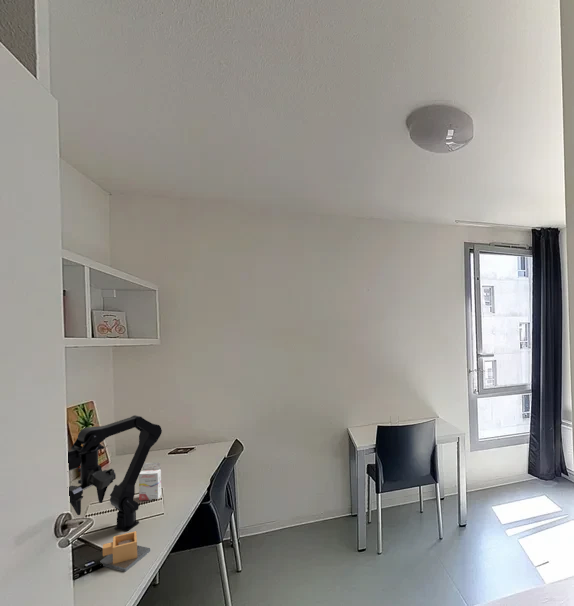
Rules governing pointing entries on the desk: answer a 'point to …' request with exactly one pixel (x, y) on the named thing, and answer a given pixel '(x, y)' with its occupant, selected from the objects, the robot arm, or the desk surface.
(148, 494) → the ink cartridge box
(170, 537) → the desk surface
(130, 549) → the tan open-top box
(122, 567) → the grey plate with tab
